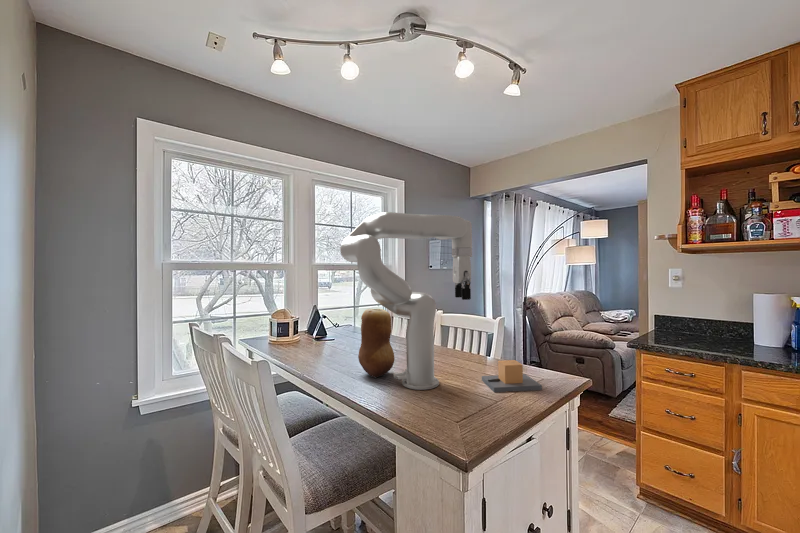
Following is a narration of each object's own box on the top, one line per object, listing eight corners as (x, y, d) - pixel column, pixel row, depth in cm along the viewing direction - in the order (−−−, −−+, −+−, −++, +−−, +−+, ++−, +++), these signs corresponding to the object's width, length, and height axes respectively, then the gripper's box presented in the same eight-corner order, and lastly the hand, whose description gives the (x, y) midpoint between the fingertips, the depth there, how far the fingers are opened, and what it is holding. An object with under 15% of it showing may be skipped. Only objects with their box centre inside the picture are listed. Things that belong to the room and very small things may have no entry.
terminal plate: (493, 392, 112) (493, 375, 112) (481, 380, 124) (481, 364, 124) (541, 389, 114) (541, 372, 114) (525, 378, 126) (525, 362, 126)
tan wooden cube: (505, 383, 116) (505, 365, 116) (498, 378, 122) (498, 360, 122) (522, 382, 116) (522, 364, 116) (515, 377, 122) (514, 360, 122)
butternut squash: (401, 375, 132) (400, 308, 132) (375, 383, 122) (374, 312, 122) (377, 368, 141) (376, 306, 141) (350, 375, 132) (349, 309, 132)
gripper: (447, 254, 141) (447, 296, 141) (458, 252, 124) (458, 300, 124) (465, 254, 142) (466, 296, 142) (478, 252, 124) (479, 300, 124)
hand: (462, 298), depth 133 cm, fingers open, 9 cm apart
